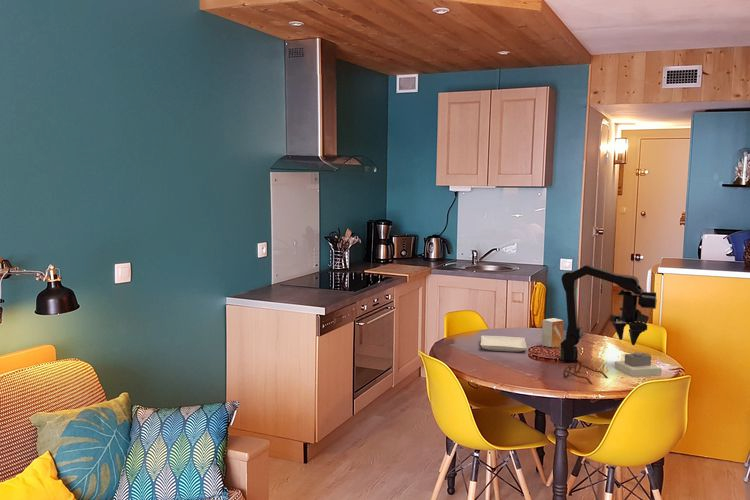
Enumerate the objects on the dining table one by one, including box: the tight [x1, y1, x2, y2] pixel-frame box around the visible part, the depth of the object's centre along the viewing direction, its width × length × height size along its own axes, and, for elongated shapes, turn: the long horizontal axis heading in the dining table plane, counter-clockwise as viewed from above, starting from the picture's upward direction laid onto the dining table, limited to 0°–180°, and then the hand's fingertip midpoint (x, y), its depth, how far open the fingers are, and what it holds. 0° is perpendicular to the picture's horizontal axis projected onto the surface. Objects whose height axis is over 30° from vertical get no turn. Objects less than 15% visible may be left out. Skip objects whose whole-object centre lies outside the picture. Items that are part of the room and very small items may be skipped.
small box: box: [541, 317, 565, 348], centre depth 313 cm, size 8×6×13 cm
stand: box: [614, 360, 662, 378], centre depth 272 cm, size 13×13×3 cm
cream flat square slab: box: [480, 335, 528, 353], centre depth 312 cm, size 21×21×3 cm
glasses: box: [562, 361, 609, 386], centre depth 263 cm, size 13×13×5 cm
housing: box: [624, 351, 652, 367], centre depth 272 cm, size 5×9×5 cm, turn 106°
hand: (626, 342), depth 276 cm, fingers open, 9 cm apart
